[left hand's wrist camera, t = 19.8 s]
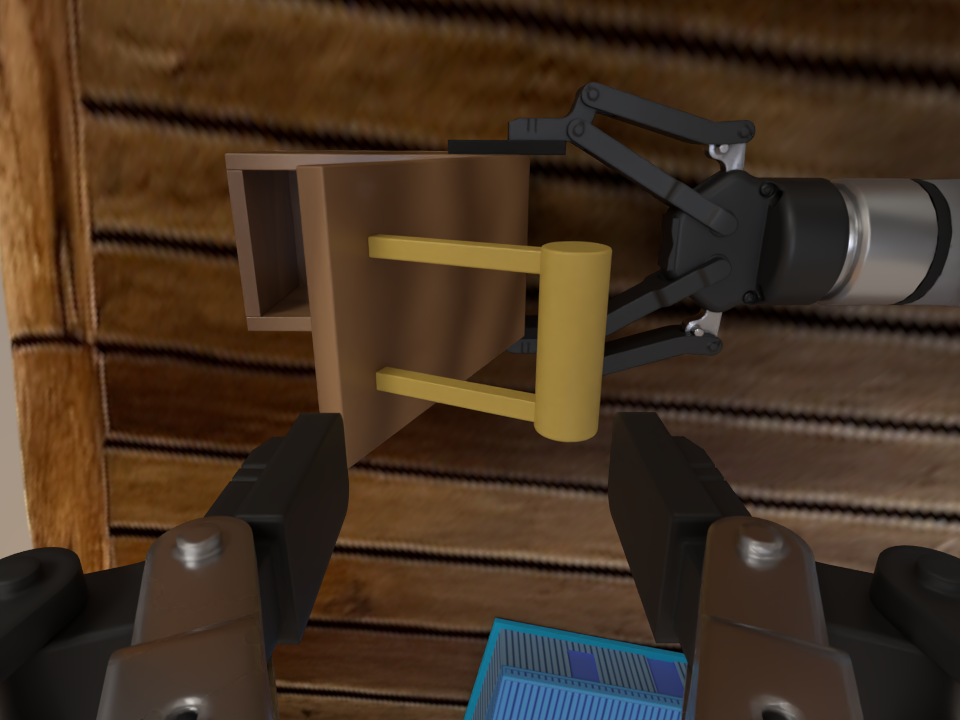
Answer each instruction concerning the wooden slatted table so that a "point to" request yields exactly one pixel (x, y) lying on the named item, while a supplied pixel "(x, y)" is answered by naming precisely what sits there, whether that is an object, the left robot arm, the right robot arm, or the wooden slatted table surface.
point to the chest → (283, 228)
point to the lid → (444, 296)
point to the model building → (573, 677)
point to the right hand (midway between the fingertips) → (450, 241)
